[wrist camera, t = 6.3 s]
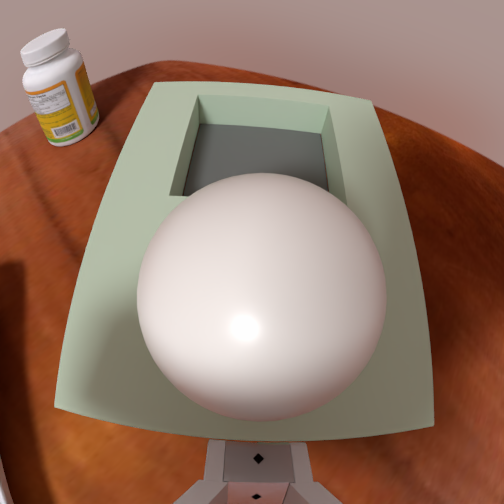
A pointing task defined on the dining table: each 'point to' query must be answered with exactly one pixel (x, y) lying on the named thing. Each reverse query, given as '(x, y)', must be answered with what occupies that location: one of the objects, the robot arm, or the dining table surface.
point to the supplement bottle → (59, 88)
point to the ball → (261, 297)
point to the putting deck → (209, 171)
